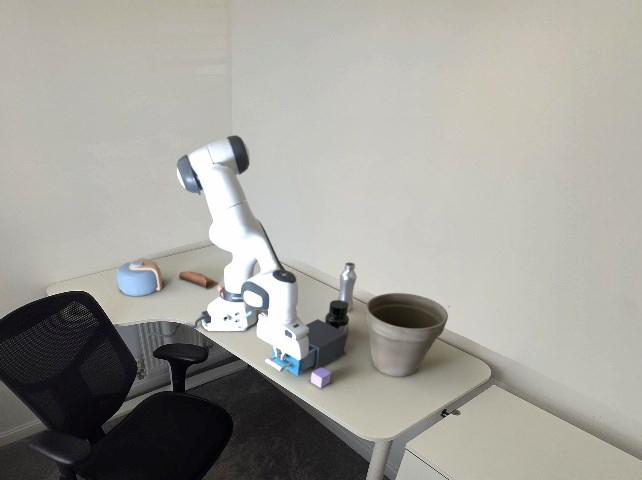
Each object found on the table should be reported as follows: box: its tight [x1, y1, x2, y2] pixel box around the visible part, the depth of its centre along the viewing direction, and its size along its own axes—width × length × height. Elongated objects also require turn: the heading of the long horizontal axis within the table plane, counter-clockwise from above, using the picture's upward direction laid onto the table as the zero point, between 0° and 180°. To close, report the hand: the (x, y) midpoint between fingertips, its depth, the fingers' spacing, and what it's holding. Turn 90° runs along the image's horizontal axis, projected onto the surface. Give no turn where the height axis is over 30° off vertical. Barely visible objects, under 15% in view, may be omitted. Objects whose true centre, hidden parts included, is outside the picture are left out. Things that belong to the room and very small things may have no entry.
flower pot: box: [364, 292, 449, 378], centre depth 145 cm, size 25×25×22 cm
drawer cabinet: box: [305, 318, 348, 370], centre depth 155 cm, size 15×14×9 cm
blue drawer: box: [265, 345, 317, 377], centre depth 149 cm, size 19×12×7 cm, turn 130°
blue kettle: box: [115, 257, 164, 297], centre depth 200 cm, size 19×20×12 cm
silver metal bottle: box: [337, 261, 357, 312], centre depth 179 cm, size 6×7×20 cm
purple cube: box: [310, 367, 332, 389], centre depth 143 cm, size 4×4×4 cm
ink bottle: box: [324, 299, 350, 334], centre depth 166 cm, size 10×9×12 cm
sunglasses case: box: [178, 270, 218, 289], centre depth 207 cm, size 18×7×7 cm, turn 52°
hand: (280, 358), depth 144 cm, fingers closed
